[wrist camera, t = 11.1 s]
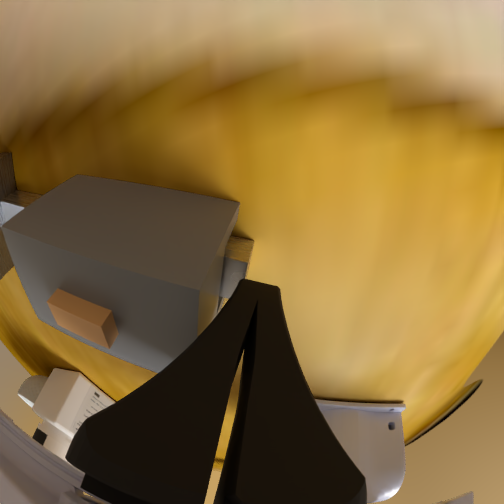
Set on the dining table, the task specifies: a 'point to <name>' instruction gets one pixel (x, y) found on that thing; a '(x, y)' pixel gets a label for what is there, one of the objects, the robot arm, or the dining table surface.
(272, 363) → the robot arm
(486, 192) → the dining table surface
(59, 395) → the container
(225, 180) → the dining table surface
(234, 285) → the rail
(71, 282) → the block
